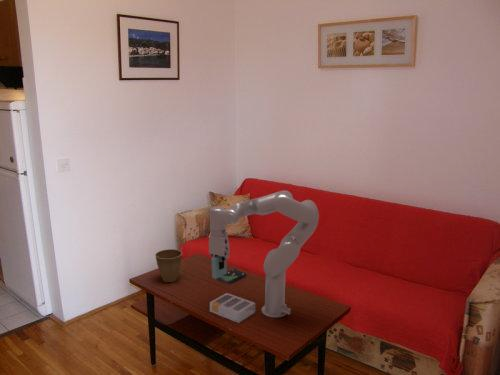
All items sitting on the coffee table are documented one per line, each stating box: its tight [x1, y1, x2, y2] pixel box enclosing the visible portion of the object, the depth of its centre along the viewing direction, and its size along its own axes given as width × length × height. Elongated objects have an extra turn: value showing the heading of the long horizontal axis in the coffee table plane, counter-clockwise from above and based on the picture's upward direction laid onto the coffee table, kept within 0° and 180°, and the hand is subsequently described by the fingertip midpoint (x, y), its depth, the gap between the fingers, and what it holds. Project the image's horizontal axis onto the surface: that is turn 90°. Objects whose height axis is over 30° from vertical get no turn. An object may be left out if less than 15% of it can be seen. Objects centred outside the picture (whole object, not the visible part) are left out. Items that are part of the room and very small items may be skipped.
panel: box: [210, 256, 228, 280], centre depth 212 cm, size 2×8×10 cm, turn 142°
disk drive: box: [216, 268, 247, 285], centre depth 250 cm, size 10×3×15 cm
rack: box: [209, 292, 256, 324], centre depth 210 cm, size 18×13×5 cm
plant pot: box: [154, 248, 183, 283], centre depth 245 cm, size 15×15×16 cm
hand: (219, 267), depth 213 cm, fingers closed on panel, 2 cm apart
